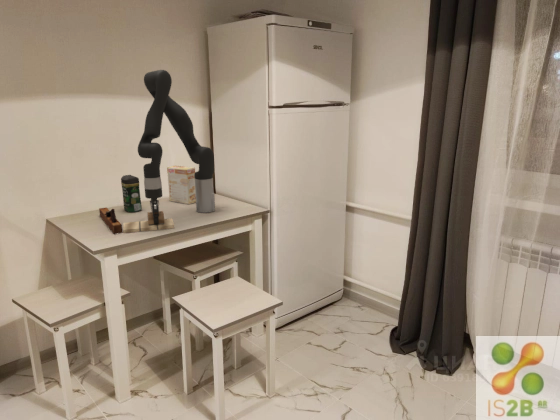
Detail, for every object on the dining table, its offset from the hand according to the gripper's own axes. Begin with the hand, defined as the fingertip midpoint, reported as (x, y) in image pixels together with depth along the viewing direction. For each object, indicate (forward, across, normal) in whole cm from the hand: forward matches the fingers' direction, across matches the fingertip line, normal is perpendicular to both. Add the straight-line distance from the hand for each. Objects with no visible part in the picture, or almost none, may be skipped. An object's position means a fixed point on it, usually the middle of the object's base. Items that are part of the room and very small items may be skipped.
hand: (156, 222), depth 203 cm
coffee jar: (+2, +33, +10) cm, 34 cm away
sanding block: (0, 0, 0) cm, 0 cm away
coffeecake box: (+2, +43, -17) cm, 46 cm away
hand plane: (+2, +12, +20) cm, 24 cm away
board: (+2, 0, +3) cm, 4 cm away
